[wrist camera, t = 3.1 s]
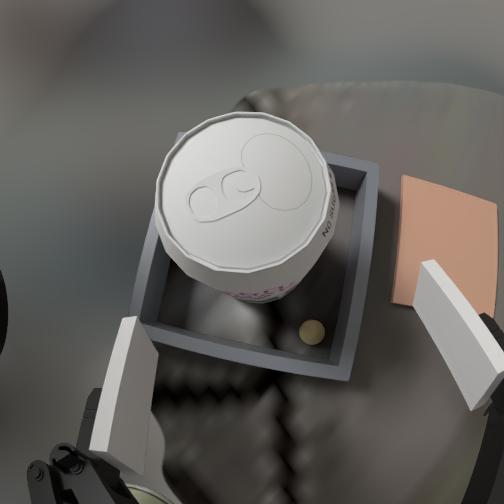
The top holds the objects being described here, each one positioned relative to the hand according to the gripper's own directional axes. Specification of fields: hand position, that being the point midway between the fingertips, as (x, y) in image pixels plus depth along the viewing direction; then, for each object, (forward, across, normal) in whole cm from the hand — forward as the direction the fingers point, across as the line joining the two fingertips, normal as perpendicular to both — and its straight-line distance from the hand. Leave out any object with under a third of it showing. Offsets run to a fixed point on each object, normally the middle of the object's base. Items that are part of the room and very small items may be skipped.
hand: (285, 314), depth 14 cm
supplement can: (+12, -1, -5) cm, 14 cm away
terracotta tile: (+10, +17, -7) cm, 21 cm away
